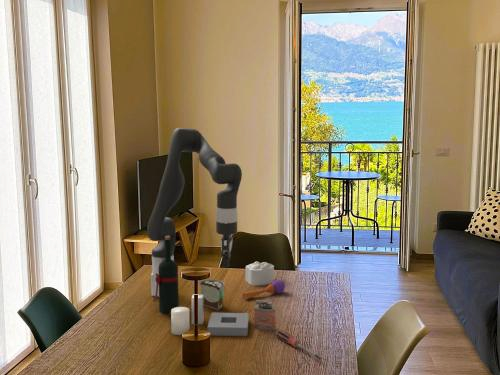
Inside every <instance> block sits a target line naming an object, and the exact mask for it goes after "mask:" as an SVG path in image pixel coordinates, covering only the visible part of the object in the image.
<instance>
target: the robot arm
mask: <svg viewBox="0 0 500 375" xmlns="http://www.w3.org/2000/svg"><path fill="white" fill-rule="evenodd" d="M182 153H196V154H198V160H199V162H200V164H201V165H202V167H204V168H205V169H206V170H207V171H208V172H209V175H210V177H211V179H212V181H213V182H214V183H215V184H218V185H226V188H224V189H222V190H219V191H218V192H217V194H216V213H215V215H216V216H215V218H216V219H215V224H216V225H215V226H216V228H215V232H216V233H217V234H218V235H222V236H221V239H220V245H221V246H220V250H221V258H222V269H228V268H230V261H232V260H231V259H232V258H231V256H232V255H231V254H232V248H233V238H234V237H233V236H232V235H236V234H237V233H238V208H237V206H238V204H237V201H238V200H237V199H238V198H237V197H238V193H239V189H240V185H241V181H242V177H243V176H242V175H243V172H242V171H243V170H242V169H241V166H240V165H239V164H237V163H226V160H225V159H224V158H223V156H221V155H220V154H219V153H218V152H217V151H215V149H213V148H212V147H211V145H210V144H209V143H208V141H207V140H206V138H204V136H203V135H202V133H201V132H200V131H199V130H197V129H193V128H186V127H185V128H184V127H177V128H175V129H174V131H173V133H172V135H171V139H170V143H169V150H168V155H167V160H166V165H165V169H164V172H163V175H162V180H161V182H160V185H159V190H158V194H157V197H156V201H155V204H154V207H153V209H152V212H151V215H150V217H149V220H148V223H147V228H146V234H147V237H148V239H149V240H150V241H152V242H158V241H159V243H158V244H157V245H155V246H154V247H153V248H152V250H151V274H150V284H151V287H150V288H151V292H150V293H151V295H150V296H151V297H155V295H156V284H157V283H156V281H155V277H156V273H157V274H158V275H159V264H160V263H161V262H162V261H164V260H165V236H170V240H171V260H173V261H175V259H174V257H175V256H174V255H175V253H174V252H175V249H176V224H175V222H174V220H173V219H172V218H171V217H167V216H168V214H169V212H170V211H171V209H173V207H174V206H175V205H176V204H177V203H178V202H179V200H180V198H181V196H182V194H183V191H184V188H185V183H186V181H185V176H184V173H183V171H182V168H181V165H180V161H181V160H180V158H181V154H182ZM157 298H159V284H158V293H157Z"/></svg>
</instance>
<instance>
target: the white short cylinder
mask: <svg viewBox="0 0 500 375" xmlns="http://www.w3.org/2000/svg"><path fill="white" fill-rule="evenodd" d="M170 315H171V316H170V318H171V319H170V320H171V322H170V323H171V325H170V326H171V327H170V328H171V334H172V335H176V336H182V335H181V334H182V333H184V332H186V331H188V330H190V328H191V326H190V308H189V307H186V306H179V307H176V308H173V309H172V310H171V314H170ZM190 331H191V330H190Z"/></svg>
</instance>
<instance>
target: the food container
mask: <svg viewBox="0 0 500 375" xmlns="http://www.w3.org/2000/svg"><path fill="white" fill-rule="evenodd" d="M199 285H200V288H201V290H200V291H201V295H204V306H205V307H207V308H209V309H210V308H211V309H214V310H216V311H220V310H221V309H222V308H223V305H224V304H223V301H224V293H225V292H224V291H225V290H226V284H225V282H224V281H223V280H220V279H214V278H211V279H210V278H207V279H202V280H201V279H200V282H199Z"/></svg>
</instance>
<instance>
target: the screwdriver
mask: <svg viewBox="0 0 500 375" xmlns="http://www.w3.org/2000/svg"><path fill="white" fill-rule="evenodd" d="M275 335H276V337H277V338H279V339H280V340H281V341H282V342H285V343H287V344H289V345H292V346H293V348H295V349H297V348H300V349H301V350H303V351H306V352H307V353H308V354H310V355H311V356H313V357H315V358H317V359H319V360H320V361H321V360H323V358H322V357H321V356H319V355H317V353H315V352H313V351H311V350H310V349H308V348H306V347H305V346H304V345H302V344H301V342H300V340H298V339H295V338H294V337H293V336H292V335H290V334H289V333H288V332H285V331H284V330H280V329H277V330H276V332H275Z"/></svg>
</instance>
